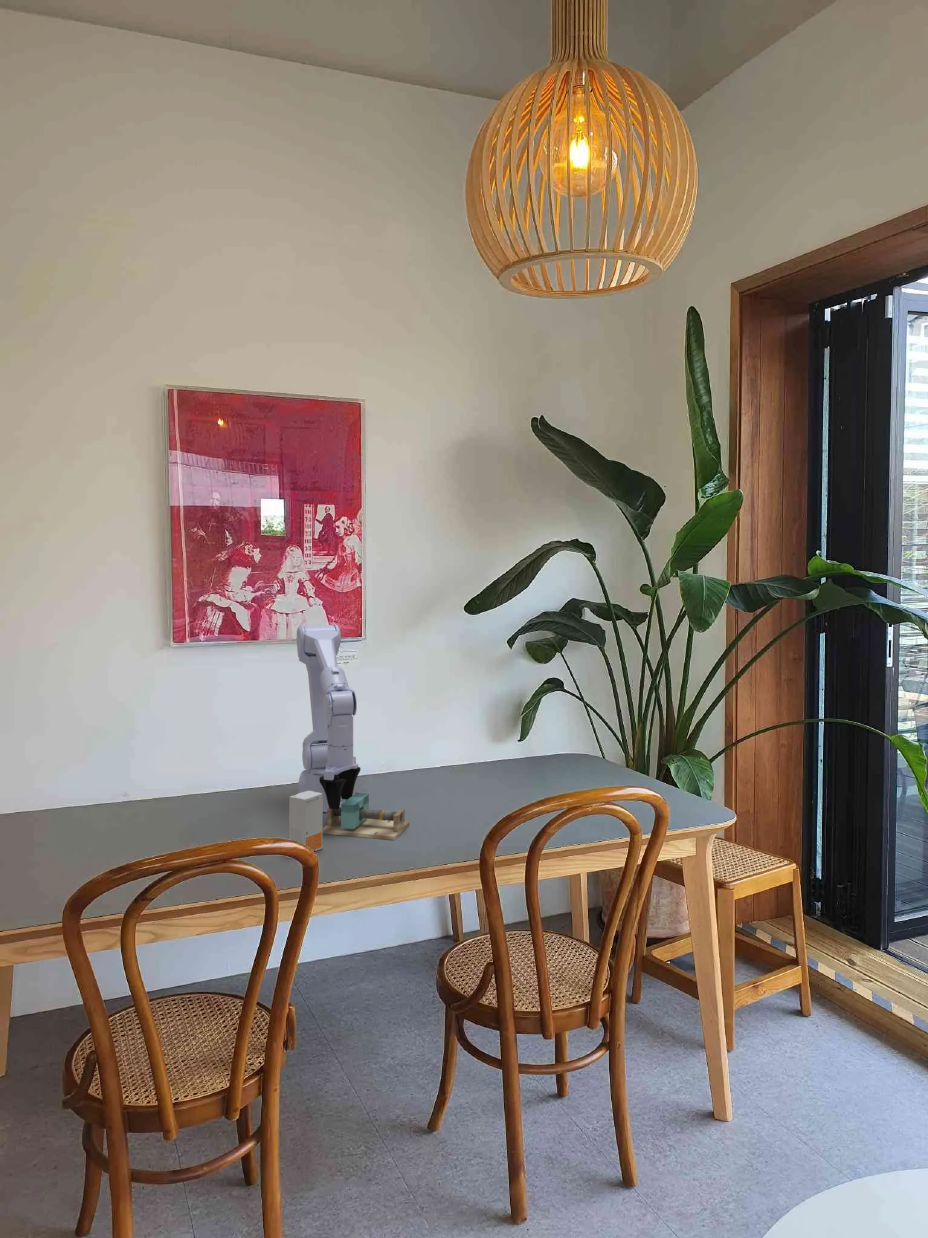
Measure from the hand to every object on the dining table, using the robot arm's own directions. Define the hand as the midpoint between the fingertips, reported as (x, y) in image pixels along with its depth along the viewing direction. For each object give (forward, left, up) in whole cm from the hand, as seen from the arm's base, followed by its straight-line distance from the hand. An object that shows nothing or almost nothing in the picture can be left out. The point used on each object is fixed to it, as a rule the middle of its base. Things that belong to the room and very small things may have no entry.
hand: (340, 804), depth 218 cm
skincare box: (-1, -17, -6) cm, 18 cm away
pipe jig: (+6, 0, -5) cm, 8 cm away
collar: (+3, 0, -4) cm, 5 cm away
